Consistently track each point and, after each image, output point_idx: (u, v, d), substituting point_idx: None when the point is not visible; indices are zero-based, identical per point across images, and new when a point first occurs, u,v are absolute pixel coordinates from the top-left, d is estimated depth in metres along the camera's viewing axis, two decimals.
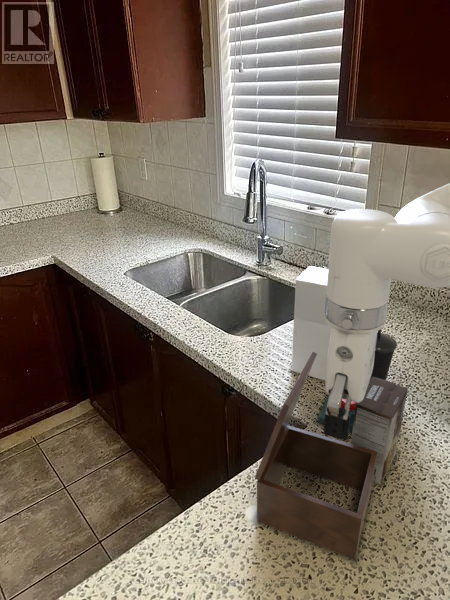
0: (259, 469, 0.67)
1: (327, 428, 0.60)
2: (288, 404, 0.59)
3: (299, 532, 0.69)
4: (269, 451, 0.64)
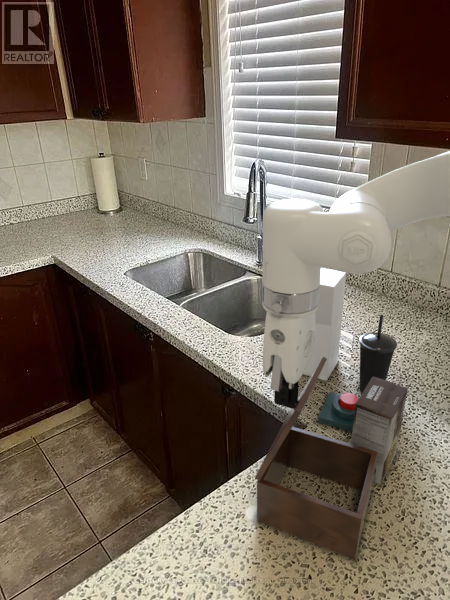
0: (260, 470, 0.66)
1: (277, 397, 0.67)
2: (299, 410, 0.59)
3: (299, 532, 0.69)
4: (273, 454, 0.64)
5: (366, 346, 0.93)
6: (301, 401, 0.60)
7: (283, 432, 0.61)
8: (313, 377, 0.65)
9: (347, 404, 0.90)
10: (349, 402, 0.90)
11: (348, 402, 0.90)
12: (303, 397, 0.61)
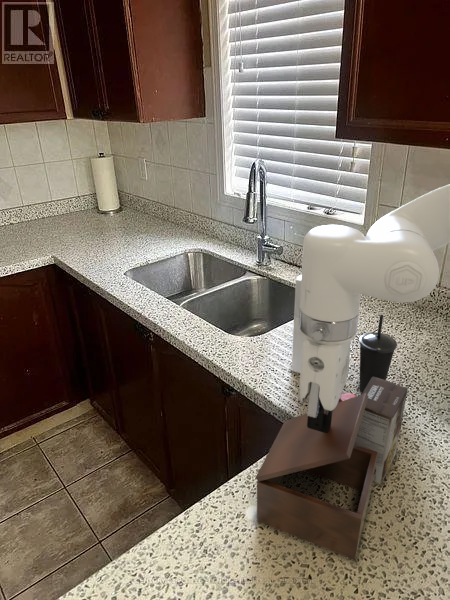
0: (267, 475, 0.66)
1: (310, 422, 0.66)
2: (349, 456, 0.58)
3: (299, 532, 0.69)
4: (292, 471, 0.64)
5: (366, 346, 0.93)
6: (350, 444, 0.60)
7: (317, 462, 0.61)
8: (359, 417, 0.64)
9: None
10: None
11: None
12: (352, 440, 0.60)
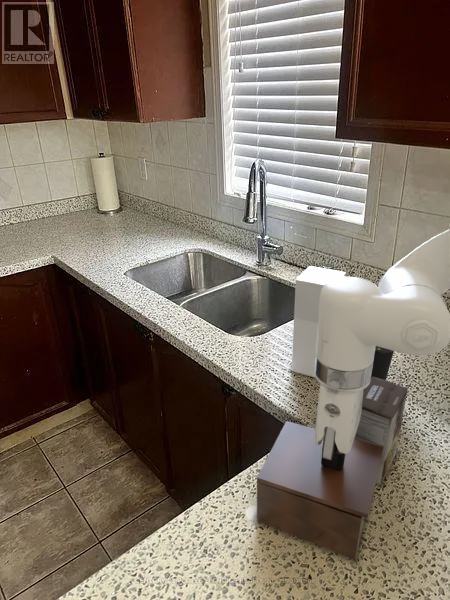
0: (271, 483, 0.67)
1: (324, 460, 0.68)
2: None
3: (299, 532, 0.69)
4: (300, 495, 0.65)
5: None
6: (370, 504, 0.62)
7: (333, 504, 0.63)
8: (377, 474, 0.67)
9: None
10: None
11: None
12: None
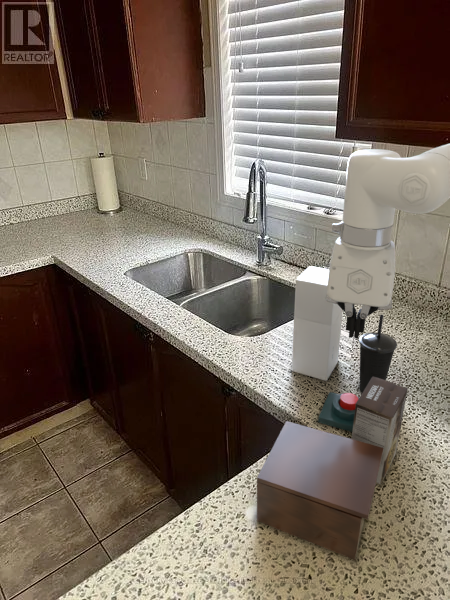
0: (271, 483, 0.67)
1: None
2: None
3: (299, 532, 0.69)
4: (300, 495, 0.65)
5: (366, 346, 0.93)
6: (370, 505, 0.62)
7: (333, 504, 0.63)
8: (377, 474, 0.67)
9: (347, 404, 0.90)
10: (349, 402, 0.90)
11: (348, 402, 0.90)
12: (371, 500, 0.63)
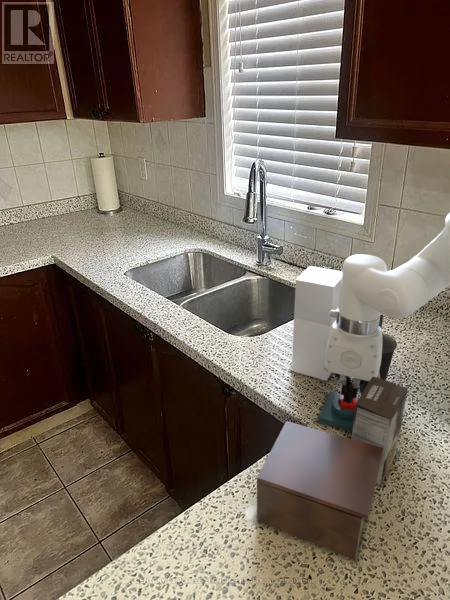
0: (271, 483, 0.67)
1: None
2: None
3: (299, 532, 0.69)
4: (300, 495, 0.65)
5: None
6: (370, 505, 0.62)
7: (333, 504, 0.63)
8: (377, 474, 0.67)
9: (347, 405, 0.90)
10: (349, 403, 0.90)
11: None
12: (371, 500, 0.63)
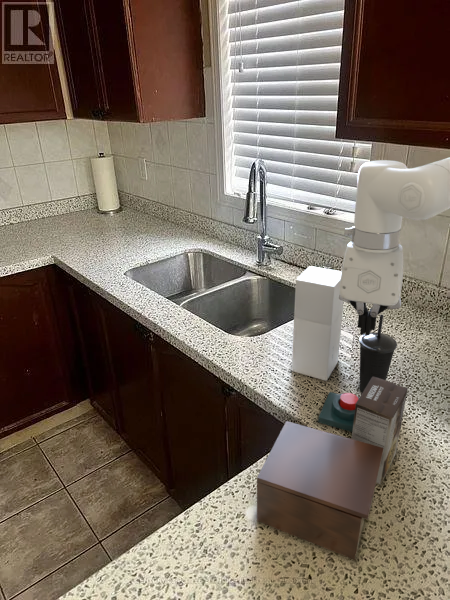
0: (271, 483, 0.67)
1: None
2: None
3: (299, 532, 0.69)
4: (300, 495, 0.65)
5: (366, 346, 0.93)
6: (370, 505, 0.62)
7: (333, 504, 0.63)
8: (377, 474, 0.67)
9: (347, 404, 0.90)
10: (349, 402, 0.90)
11: (348, 402, 0.90)
12: (371, 500, 0.63)
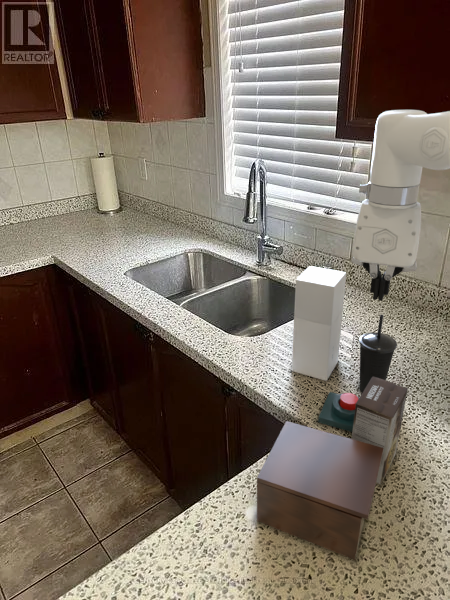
0: (271, 483, 0.67)
1: None
2: None
3: (299, 532, 0.69)
4: (300, 495, 0.65)
5: (366, 346, 0.93)
6: (370, 505, 0.62)
7: (333, 504, 0.63)
8: (377, 474, 0.67)
9: (347, 404, 0.90)
10: (349, 402, 0.90)
11: (348, 402, 0.90)
12: (371, 500, 0.63)
